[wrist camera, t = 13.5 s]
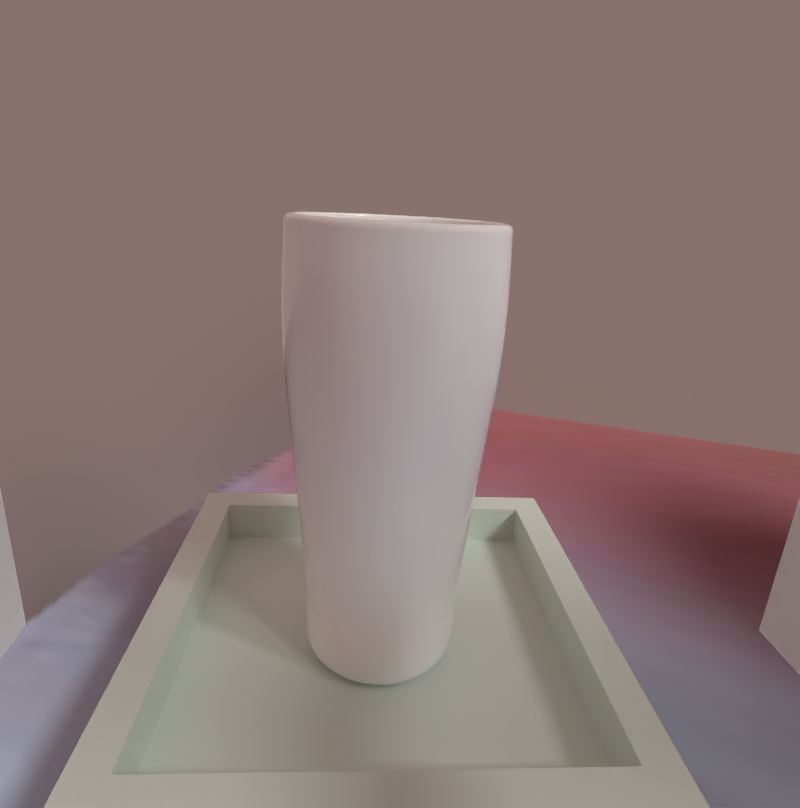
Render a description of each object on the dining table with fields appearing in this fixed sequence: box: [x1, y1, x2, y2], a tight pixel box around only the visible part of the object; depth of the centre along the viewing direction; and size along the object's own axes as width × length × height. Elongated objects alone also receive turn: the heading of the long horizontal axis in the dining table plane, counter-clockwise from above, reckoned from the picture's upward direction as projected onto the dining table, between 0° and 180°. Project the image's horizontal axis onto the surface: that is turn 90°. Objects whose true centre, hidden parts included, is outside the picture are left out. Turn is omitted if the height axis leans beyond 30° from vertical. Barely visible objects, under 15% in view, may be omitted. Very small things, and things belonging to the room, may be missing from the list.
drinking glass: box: [281, 212, 513, 685], centre depth 19 cm, size 7×7×15 cm
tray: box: [43, 492, 710, 808], centre depth 22 cm, size 16×16×2 cm
